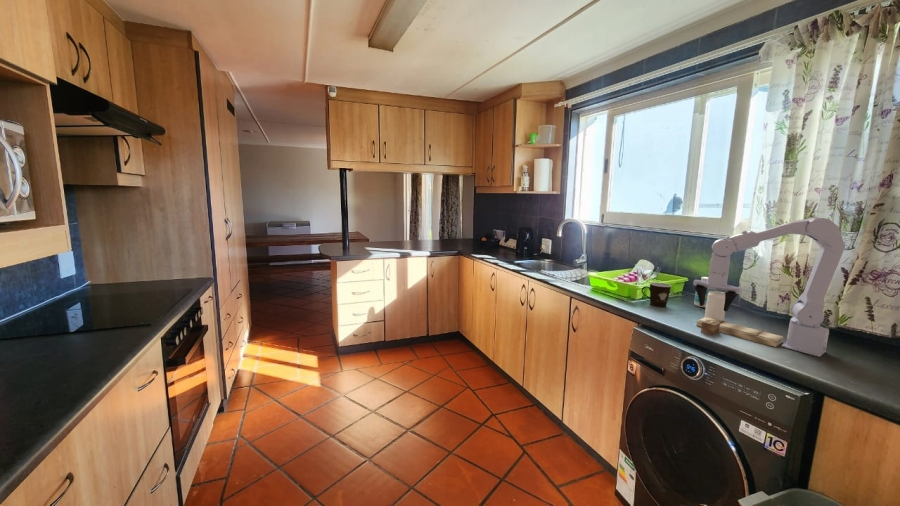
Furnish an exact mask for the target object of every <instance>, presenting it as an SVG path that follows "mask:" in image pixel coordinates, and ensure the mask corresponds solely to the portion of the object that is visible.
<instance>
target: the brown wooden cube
mask: <svg viewBox="0 0 900 506" xmlns="http://www.w3.org/2000/svg"><path fill="white" fill-rule="evenodd" d="M700 327H701V326H700ZM719 327H720V323H719V322H715V321H711V320H706V321H704V322H702V327H701V328H700V332H701V333H702V334H706V335H711V336H714V335H717V334H719V333H720V332H719Z"/></svg>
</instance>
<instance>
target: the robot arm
mask: <svg viewBox="0 0 900 506" xmlns="http://www.w3.org/2000/svg"><path fill="white" fill-rule="evenodd" d="M787 235H798V236H799V235H801V236H805V235H806V236H807V237H809V238H810V239H812V240H814V242H815V243H816V244H817V245H818V247H820V249H819V252H818V255H817V257H816V259H815V262H814V265H813V268H812V269H811V271H810V272H811V273H810V274H809V278H808V280H807V283H806V285H805V287H804V290H803V292H802V293H801V294H800V296H798V299H797V300H796V302H794V303H793V304H792V305H791V307H790V313H791V314H792V315H793V316H792V317H791V318H790V319H789V325H788V330H787V337H786V341H785V342H784V343H783V344H781V347H782V348H785V349H789V350H793V351H796V352H800V353H804V354H808V355H811V356H815V357H819V358H820V357H822V356H823V354H825V353H826V351H827V348H828V347H827V345H828V339H829V335H830V329H829V328H826V327H823V326H821V324H822V323H823V321H824V320H825V315H824V309H825V296H826V295H827V293H828V290H829V288H830V286H831V283H832V280H833V277H834V275H835V274H836V273H835V272H836V270H837V269H838V266H839V263H840V261H841V258H842V255H843V253H844V251H845V248H846V244H845V241H844V239H843V237H842V234H841V232H840V226H838V225H837V224H836V223H834V221H832V220H831V219H829V218H825V217H816V216H811V217H810V216H809V217H808V218H805V219H798V220H792V221H789V222H785V223H783V224H779V225H776V226H774V227H771V228H767V229H765V230H761V231H758V232H756V231H751V230H749V231H747V230H742V231H741V232H740V233H738V234H735V235H732V236H729V235H726V236H725V239H723V238H719V239H717V240H715V241H714V242H713V243H712V245H711V250H712V253H711V258H710V260H709V271H708V276H707V277H708V281H702V280H701V279H694V280H693V282H692V283H693V284H692V286H695V287H694V290H695V293H696V292H697V294H698V297H699V303H700V306H703V305H704V303H705V295H706V291H707V288H713V289H716V290H717V291H723V292H726V293H725V304H724V311H725V312H728V311H729V308H730V306H731V305H732V303H733V301H734V299H735V298H737V296H738V295H739V294H740V295H741V294H742V291H743V287H738V286H734V285H732V284H731V285H730V284H728V278H729V273H730V272H729V271H730V265H731V260H730V259H731V255H732V254H733V252H734V253H737V252H741V251H744V250H748V249H752V248H755V247H759V245H760V243H762V242H765V241H767V240H771V239H775V238H776V239H777V238H779V237H783V236H787Z"/></svg>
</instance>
